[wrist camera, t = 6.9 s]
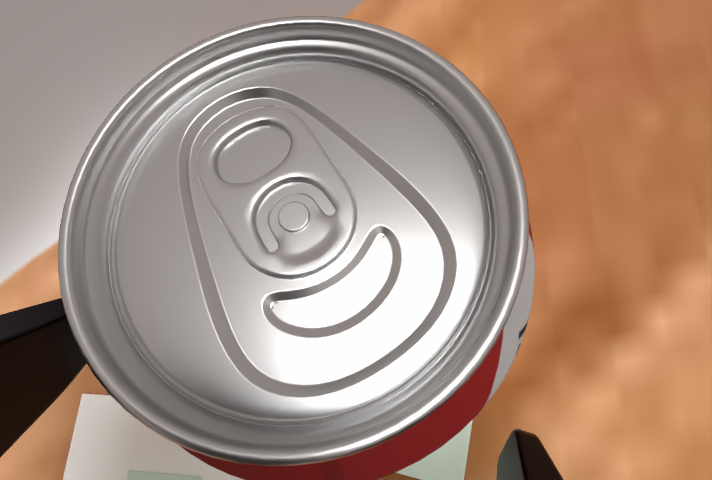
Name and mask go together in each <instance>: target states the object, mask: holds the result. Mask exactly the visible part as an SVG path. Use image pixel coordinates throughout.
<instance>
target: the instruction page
mask: <svg viewBox="0 0 712 480" xmlns="http://www.w3.org/2000/svg"><path fill="white" fill-rule="evenodd" d="M63 480H244V479H241V478H238V477H235V476H232V475H229V474H227V473H225V472H223V471H220V470H218V469H216V468H214V467H212V466H210V465H208V464H206V463H204V462H203V461H201V460H200V459H198V458H196V457H195V456H193V455H191V454H190V453H188V452H187V451H186V450H184V449H183V448H182V447H181V446H179V445H178V444H176V443H174V442H172V441H169V440H167V439H166V438H164V437H162V436H161V435H159V434H157V433H156V432H154V431H152V430H151V429H149V428H148V427H146V426H145V425H143V424H142V423H141V422H140V421H138V420H137V419H136V418H134V417H133V416H132V415H131V414H129V413H128V412H127V411H126V410H125V409H124V408H123V407H122V406H121V405H120V404H119V403H118V402H117V401H116V400H115V399H114V398H113V397H112V396H111V395H101V394H86V393H85V394H82V397H81V401H80V406H79V410H78V415H77V419H76V423H75V428H74V432H73V437H72V441H71V445H70V450H69V454H68V459H67V463H66V467H65V472H64V476H63Z"/></svg>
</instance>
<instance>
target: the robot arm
mask: <svg viewBox="0 0 712 480" xmlns="http://www.w3.org/2000/svg"><path fill="white" fill-rule="evenodd" d="M86 363H87V362H86V361H85V359H84V358H83V356H82V354H81V352H80V350H79V347H78V345H77V343H76V341H75V339H74V337H73V335H72V332H71V329H70V326H69V323H68V320H67V317H66V314H65V310H64V305H63V301H62V298H60V299H56V300H53V301H49V302H45V303H42V304H38V305H35V306H31V307H27V308H24V309H20V310H17V311H13V312H9V313H6V314H2V315H0V457H1V456H2V455H3V454H4V453H5V452H6V451H7V450H8V449H9V448H10V447H11V446H12V445H13V444H14V443H15V442H16V441H17V440H18V439H19V438H20V437H21V436H22V434H23V433H24V432H25V431H26V430H27V429H28V428H29V427H30V426H31V425H32V424H33V423H34V422H35V421H36V420H37V419H38V418H39V417H40V416H41V415H42V414H43V413H44V412H45V411H46V409H47V408H48V407H49V406H50V405H51V404H52V403H53V402H54V401H55V400H56V399H57V398H58V397H59V396H60V395H61V394H62V392H63V391H64V390H65V389H66V388H67V387H68V386H69V384H70V383H71V382H72V381H73V380H74V378H75V377H76V376H77V375H78V373H79V372H80V371H81V370H82V368H83V367H84V366H85V365H86ZM496 480H563V478H562V476H561V475H560V473H559V471H558V470H557V468H556V466H555V465H554V463H553V461H552V460H551V458H550V456H549V455H548V453H547V451H546V449H545V448H544V446H543V444H542V443H541V441H540V439H539V438H538V437H537V436H536V435H535V434H532V433H529V432H526V431H523V430H520V429H514V430H513V431H512V432H511V434H510V436H509V438H508V440H507V442H506V444H505V446H504V448H503V450H502V452H501V454H500V456H499V460H498V466H497V478H496Z"/></svg>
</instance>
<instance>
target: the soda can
mask: <svg viewBox="0 0 712 480" xmlns="http://www.w3.org/2000/svg"><path fill="white" fill-rule="evenodd" d="M58 274H59V282H60V291H61V296H62V301H63V305H64V310H65V314H66V317H67V320H68V323H69V326H70V329H71V332H72V335H73V337H74V339H75V341H76V343H77V345H78V347H79V350H80V352H81V354H82V356H83V358H84V359H85V361H86V362H87V364H88V366H89V367H90V369H91V370H92V372H93V374H94V375H95V377H96V378H97V379H98V380H99V382H100V383H101V384H102V385H103V387H104V388H105V389H106V391H107V392H108V393H109V394H110V395H111V396H112V397H113V398H114V399H115V400H116V401H117V402H118V403H119V404H120V405H121V406H122V407H123V408H124V409H125V410H126V411H127V412H128V413H129V414H131V415H132V416H133V417H134V418H136V419H137V420H138V421H140V422H141V423H142V424H143V425H145V426H146V427H148V428H149V429H151V430H152V431H154V432H156V433H157V434H159V435H161V436H162V437H164V438H166V439H167V440H169V441H172V442H174V443H176V444H178V445H179V446H181V447H182V448H183V449H184V450H186V451H187V452H188V453H190V454H191V455H193V456H195V457H196V458H198V459H200V460H201V461H203V462H204V463H206V464H208V465H210V466H212V467H214V468H216V469H218V470H220V471H223V472H225V473H227V474H229V475H232V476H235V477H238V478H241V479H244V480H376V479H379V478H381V477H384V476H387V475H390V474H392V473H395V472H398V471H400V470H402V469H404V468H406V467H408V466H410V465H412V464H414V463H416V462H418V461H420V460H422V459H423V458H425V457H426V456H428V455H430V454H431V453H433V452H434V451H436V450H437V449H439V448H441V447H442V446H443V445H444V444H446V443H447V442H448V441H449V440H451V439H452V438H453V437H454V436H456V435H457V434H458V433H459V432H460V431H461V430H462V429H463V428H464V427H466V426H467V425H468V424H469V423H470V422H471V421H472V420H473V419H474V418H475V417H476V416H477V415H478V413H479V412H480V411H481V410H482V408H483V407H484V406H485V405H486V404H487V402H488V401H489V400H490V399H491V397H492V396H493V395H494V393H495V392H496V390H497V388H498V387H499V385H500V384H501V382H502V381H503V379H504V378H505V376H506V374H507V372H508V370H509V368H510V366H511V364H512V362H513V360H514V358H515V356H516V354H517V352H518V349H519V346H520V344H521V341H522V339H523V336H524V333H525V330H526V326H527V322H528V318H529V315H530V311H531V304H532V298H533V291H534V274H535V261H534V245H533V239H532V233H531V227H530V222H529V210H528V198H527V192H526V186H525V180H524V176H523V173H522V169H521V165H520V162H519V158H518V156H517V153H516V151H515V148H514V146H513V143H512V140H511V138H510V136H509V134H508V132H507V130H506V129H505V127H504V125H503V123H502V121H501V119H500V118H499V116H498V115H497V113H496V112H495V110H494V109H493V107H492V106H491V104H490V103H489V101H488V100H487V99H486V98H485V96H484V95H483V94H482V93H481V91H480V90H479V89H478V88H477V87H476V86H475V85H474V84H473V83H472V82H471V81H470V80H469V79H468V78H467V77H466V76H465V75H464V74H463V73H462V72H461V71H460V70H459V69H457V68H456V67H455V66H454V65H453V64H451V63H450V62H449V61H448V60H446V59H445V58H444V57H442V56H441V55H439V54H438V53H436V52H435V51H433V50H432V49H430V48H428V47H426V46H425V45H423V44H421V43H419V42H417V41H416V40H414V39H412V38H409V37H407V36H405V35H403V34H400V33H398V32H396V31H393V30H390V29H387V28H384V27H381V26H378V25H374V24H370V23H366V22H362V21H358V20H352V19H345V18H339V17H326V16H295V17H283V18H276V19H269V20H263V21H259V22H254V23H250V24H246V25H242V26H239V27H236V28H233V29H230V30H227V31H224V32H221V33H218V34H216V35H214V36H211V37H209V38H207V39H204V40H202V41H200V42H198V43H196V44H194V45H192V46H190V47H188V48H186V49H185V50H183V51H181V52H180V53H178V54H177V55H175V56H173V57H172V58H170V59H168V60H167V61H166V62H164V63H163V64H161V65H160V66H159V67H157V68H156V69H154V70H153V71H152V72H151V73H149V74H148V75H147V76H146V77H145V78H143V80H141V81H140V82H139V83H138V84H137V85H136V86H134V87H133V88H132V89H131V90H130V91H129V92H128V93H127V94H126V95H125V96H124V97H123V98H122V100H121V101H120V102H119V103H118V104H117V105H116V107H115V108H114V109H113V110H112V111H111V112H110V113H109V115H108V116H107V118H106V119H105V121H104V122H103V123H102V125H101V126H100V127H99V129H98V130H97V132H96V133H95V135H94V136H93V138H92V140H91V141H90V143H89V145H88V146H87V148H86V150H85V152H84V154H83V156H82V158H81V160H80V162H79V164H78V166H77V169H76V171H75V174H74V177H73V179H72V181H71V184H70V187H69V190H68V194H67V197H66V201H65V204H64V209H63V214H62V219H61V224H60V231H59V242H58Z"/></svg>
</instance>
